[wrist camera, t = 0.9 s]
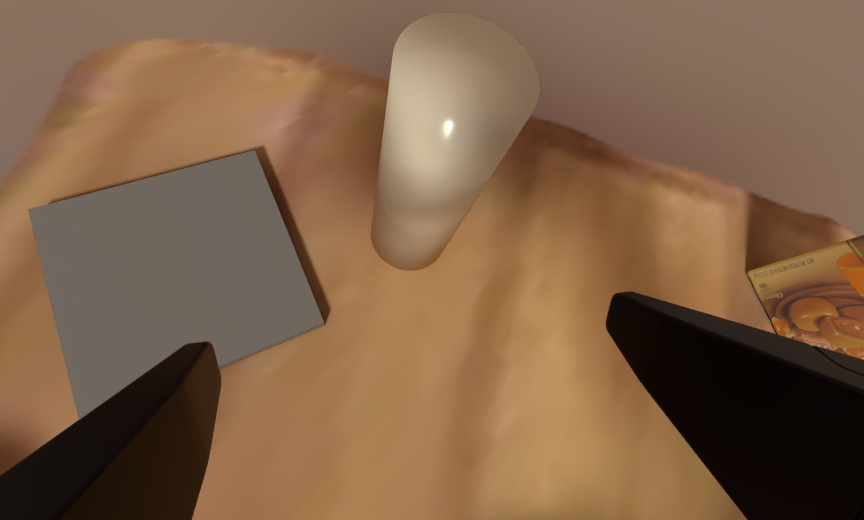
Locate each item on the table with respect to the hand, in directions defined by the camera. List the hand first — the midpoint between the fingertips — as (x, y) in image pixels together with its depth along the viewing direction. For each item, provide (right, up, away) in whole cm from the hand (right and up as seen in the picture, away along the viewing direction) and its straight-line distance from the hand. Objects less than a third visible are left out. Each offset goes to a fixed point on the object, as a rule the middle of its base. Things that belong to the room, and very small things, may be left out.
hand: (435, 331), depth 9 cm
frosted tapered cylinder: (-2, +3, +15) cm, 16 cm away
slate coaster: (-13, +1, +12) cm, 18 cm away
